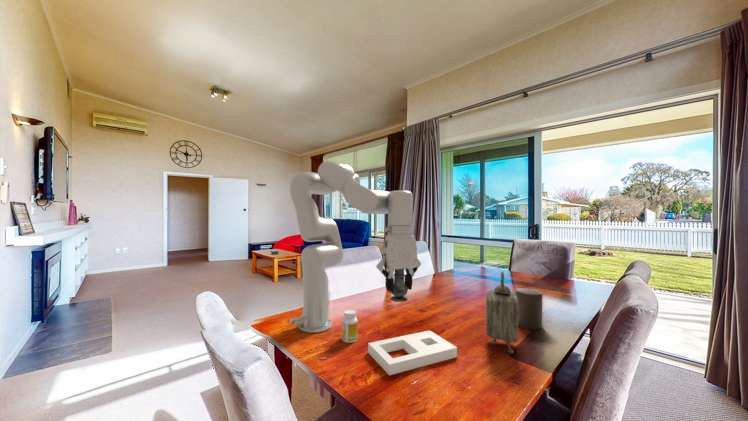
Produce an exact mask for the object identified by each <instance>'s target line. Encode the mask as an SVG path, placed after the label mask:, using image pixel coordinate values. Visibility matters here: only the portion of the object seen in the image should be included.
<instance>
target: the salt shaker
mask: <svg viewBox="0 0 748 421" xmlns="http://www.w3.org/2000/svg"><path fill="white" fill-rule="evenodd" d="M405 275H406V274H405V269H398V270H394V273H393V276H394V278H393V292H390V293H391V295H392V296H391V297H390V298H389V299H390V301H392V302H396V303H403V302H407V301H408V298H407V297H406V295H407V293H408V290H409V288H408V287H407V286H405Z"/></svg>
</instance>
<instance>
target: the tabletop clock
mask: <svg viewBox="0 0 748 421" xmlns="http://www.w3.org/2000/svg"><path fill="white" fill-rule="evenodd" d="M500 272H501V273H500V278H501V279H500V284H498V285H496V287H495V288H494V289H491V290H488V291H486V295H485V298H486V301H485V303H486V304H485V311H486V312H485V331H486V332H485V335H487V336H488V337H490V338H491V339H492V340H491V344H492V345H493V346H495V345H497V344H498V342H497V340H500V341H504V342H505V345H506V346H507V348H508V350H507V352H508V354H509V355H513V354H514V350H513V349H512V348H511V346H510V342H513V343H518V339H519V337H518V333H519V326H518V300H517V297H516V294H515V292H516V291H515V292H514V291H511V289H510V287H508V286H507V285H505V273H504V271H500Z"/></svg>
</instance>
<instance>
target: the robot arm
mask: <svg viewBox="0 0 748 421" xmlns="http://www.w3.org/2000/svg"><path fill="white" fill-rule="evenodd" d="M335 192H339V193H340V194H342V196H343V198H344V200H345V202H346V203H347V204H348V205H350V206H351V207H353V208H354V209H356V210H358V211H359V212H361V213H363V214H367V215H375V214H376V215H386V214H387V226H386V227H384V228H383V230H384V233H387V234H385V239H384V242H383V251H382V258H381V260H379V261H378V263H377V265H376V266H375V267H376V269H377V270H378V271H379V272H381V274H382V275H383V277H385V288H386V289H385V290H387V291H388V292H390V293H391V292H393V285H394V278H393V276H394V273H395V270H398V269H404V272H405V274H404V275H405V276H404V284H405V286H407V287H408V288H409V289H408V290H413V287H412V286H413V277H414V276H415V274H416V272H417V271H418V269H419V267H420V266H421V265H422V262H421V261H420V260H419V258H418V248H417V241H416V236H415V235H413V216H414V213H413V212H414V210H413V209H414V206H413V205H414V195H413V193H412V192H411V191H410V190H391V191H387V190H380V189H379V190H378V189H369V188H367V187H365V186H364V185H362V184H361V178H360V176H359V175H358V174H357V173H356V172H355V171H354V169H353V167H352V166H350V165H349V164H348V163H347V164H346V163H344V162H339V161H334V160H333V161H332V160H328V161H324V162H322V163H321V164H320V165H319V166H318V169H317V172H313V171H311V172H310V171H299V172H297V173H295V174H294V175H293V177H292V178H291V180H290V184H289V194H290V198H291V200H292V203H293V205H294V209H295V212H296V213H295V214H296V220H297V223H298V229H299V233H300V236H301V239H302V240H303V241H304V242H309V243H310V242H311V243H312V242H313V243H314V242H321V243H317V244H316V243H315V244H311V245H308V246H306V247H305V248H304V249H303V250H302V252H301V254H300V261H301V268H302V275H303V276H302V278H303V280H302V281H303V283H302V284H303V285H302V287H303V289H302V290H303V291H302V296H303V297H302V299H303V300H302V313H301V314H300V316H298V317H294V318H290V319H289V324H290V325H294V326H298V329H299V330H300V331H302V332H304V333H309V334H312V333H322V332H325V331H328V330H329V329H331V328H332V326H333V321H332V320H331V319H329V277H328V275H327V272H326V271H325V269H326V268H330V267H331V268H332V267H335V266H338V265H340V264H341V263H342V261H343V258H344V252H343V251H344V250H343V246H342V241H341V236H340V231H339V228H338V224H337V223H336V221H334V219H332V217H325V216H324V217H321V216H320V213H319V208H318V205H317V203H316V202H315V200H314V198H312V197H311V195H323V196H324V195H331V194H333V193H335ZM384 267H385V268H384Z"/></svg>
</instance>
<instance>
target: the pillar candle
mask: <svg viewBox="0 0 748 421" xmlns="http://www.w3.org/2000/svg"><path fill="white" fill-rule="evenodd" d="M515 294H516V297H517V300H518V327H520V328H523V329H527V330H534V331H537V330H541V329H542V328H543V325H542V324H543V292H542V291H541V290H537V289H533V288H529V287H527V288H525V287H520V288H519V287H517V288H515Z"/></svg>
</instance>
